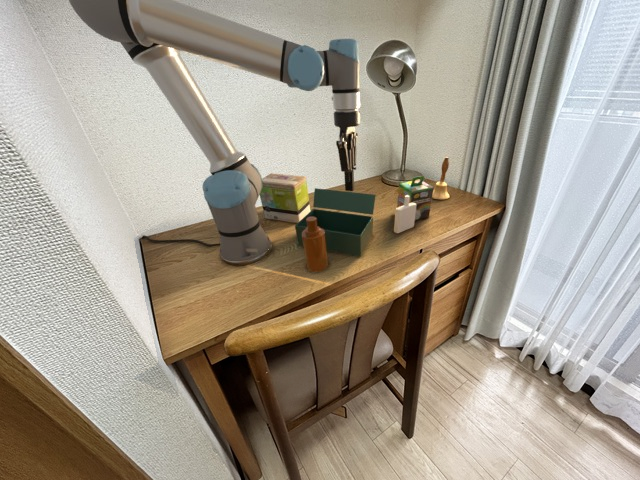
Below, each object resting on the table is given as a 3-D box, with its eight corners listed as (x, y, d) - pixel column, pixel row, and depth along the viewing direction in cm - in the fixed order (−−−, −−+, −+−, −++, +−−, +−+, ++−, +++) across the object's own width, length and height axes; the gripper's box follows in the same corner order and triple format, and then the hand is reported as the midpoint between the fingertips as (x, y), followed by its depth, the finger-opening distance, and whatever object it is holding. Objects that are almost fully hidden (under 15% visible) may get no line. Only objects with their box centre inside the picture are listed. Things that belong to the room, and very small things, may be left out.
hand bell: (445, 191, 116) (452, 154, 106) (452, 199, 109) (460, 159, 99) (426, 192, 115) (432, 155, 106) (433, 200, 108) (439, 160, 99)
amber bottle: (303, 270, 73) (294, 222, 65) (312, 258, 78) (306, 212, 69) (322, 274, 72) (316, 225, 63) (331, 261, 76) (326, 215, 67)
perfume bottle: (410, 224, 92) (414, 192, 85) (414, 226, 91) (418, 194, 84) (393, 231, 89) (395, 198, 82) (397, 234, 88) (400, 200, 80)
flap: (314, 188, 87) (315, 188, 87) (313, 206, 88) (313, 207, 89) (375, 194, 81) (375, 194, 81) (372, 214, 82) (373, 214, 82)
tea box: (264, 219, 100) (254, 181, 91) (278, 208, 107) (270, 172, 98) (300, 224, 96) (293, 184, 87) (311, 212, 103) (306, 175, 94)
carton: (298, 245, 84) (294, 225, 79) (315, 227, 93) (313, 208, 89) (360, 257, 77) (360, 236, 73) (372, 236, 87) (373, 216, 83)
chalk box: (416, 207, 103) (421, 169, 95) (430, 217, 96) (436, 177, 88) (395, 212, 101) (398, 173, 92) (408, 222, 94) (412, 181, 85)
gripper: (342, 107, 80) (346, 182, 94) (325, 113, 71) (332, 196, 85) (365, 107, 78) (366, 184, 92) (351, 113, 68) (353, 198, 82)
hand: (349, 190), depth 88 cm, fingers closed
